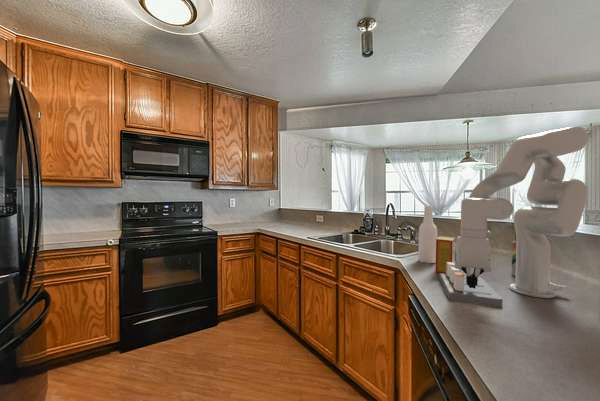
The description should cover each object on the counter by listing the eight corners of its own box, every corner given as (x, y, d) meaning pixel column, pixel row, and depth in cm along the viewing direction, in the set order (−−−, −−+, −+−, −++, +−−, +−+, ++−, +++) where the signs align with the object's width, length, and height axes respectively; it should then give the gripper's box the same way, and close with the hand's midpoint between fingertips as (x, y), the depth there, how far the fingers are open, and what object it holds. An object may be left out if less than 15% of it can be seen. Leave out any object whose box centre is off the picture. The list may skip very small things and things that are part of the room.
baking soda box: (451, 275, 117) (452, 239, 117) (435, 272, 121) (436, 238, 121) (454, 270, 125) (455, 237, 124) (439, 268, 129) (439, 235, 128)
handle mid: (457, 280, 101) (457, 267, 101) (459, 283, 97) (459, 270, 97) (449, 279, 102) (449, 266, 102) (451, 283, 98) (451, 269, 98)
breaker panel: (480, 283, 107) (481, 277, 107) (502, 307, 84) (502, 299, 84) (439, 278, 112) (439, 272, 112) (449, 300, 90) (449, 292, 90)
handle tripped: (461, 287, 94) (461, 272, 93) (464, 291, 90) (464, 275, 90) (453, 286, 94) (453, 271, 94) (455, 290, 91) (456, 275, 91)
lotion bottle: (521, 274, 119) (523, 230, 119) (531, 278, 114) (532, 232, 113) (508, 273, 120) (509, 230, 120) (517, 277, 114) (518, 232, 114)
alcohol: (433, 260, 144) (434, 205, 144) (438, 264, 136) (440, 206, 135) (416, 259, 146) (417, 205, 145) (420, 263, 137) (421, 205, 137)
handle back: (453, 274, 109) (453, 262, 108) (455, 277, 105) (455, 265, 105) (446, 273, 109) (446, 261, 109) (447, 276, 106) (448, 264, 106)
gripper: (495, 233, 91) (493, 286, 92) (446, 231, 96) (445, 280, 97) (503, 237, 84) (501, 294, 85) (450, 234, 89) (449, 287, 90)
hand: (471, 286), depth 91 cm, fingers closed
